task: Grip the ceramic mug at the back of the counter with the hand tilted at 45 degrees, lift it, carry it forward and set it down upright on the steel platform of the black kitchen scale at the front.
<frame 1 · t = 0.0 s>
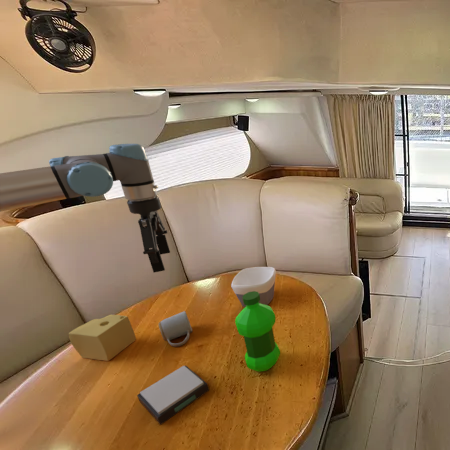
hand: (162, 261, 100), 27 cm above the table, tool pointing down, fingers open, 13 cm apart
scale: (175, 395, 85), on the table
plastic bottle: (264, 365, 95), on the table
cheese: (110, 349, 101), on the table
bowl: (258, 299, 127), on the table
ceramic mug: (180, 337, 107), on the table
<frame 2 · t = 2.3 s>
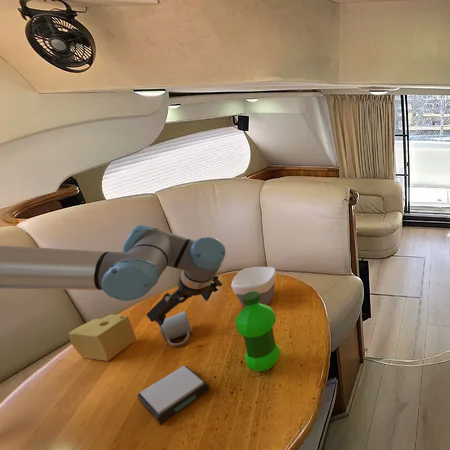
hand: (182, 308, 96), 15 cm above the table, tool tilted 45°, fingers open, 13 cm apart
nothing on the table moved.
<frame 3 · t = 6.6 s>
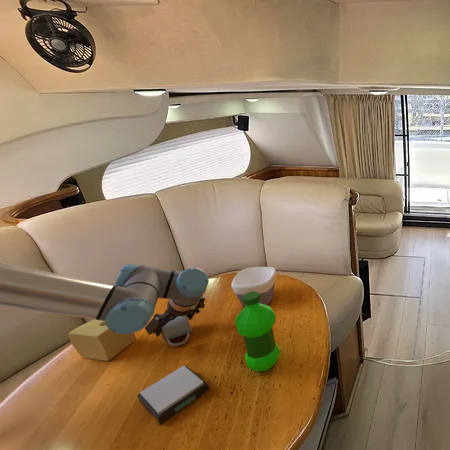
hand: (172, 324, 107), 4 cm above the table, tool tilted 45°, fingers closed on ceramic mug, 9 cm apart
ceramic mug: (180, 337, 107), on the table, touching gripper
everything else where it was.
when the fingers open (7 cm above the table, at t = 15.8 s): ceramic mug stays where it is, resting on scale.
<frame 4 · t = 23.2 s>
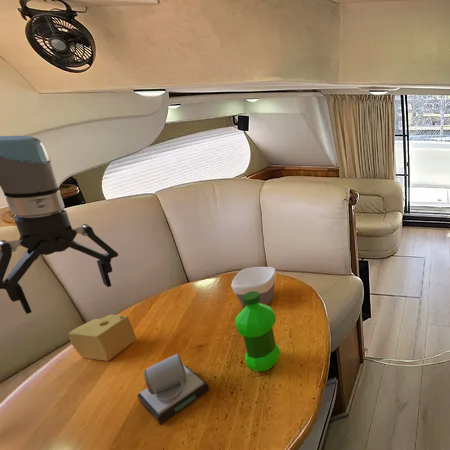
hand: (70, 296, 74), 32 cm above the table, tool pointing down, fingers open, 13 cm apart
ceramic mug: (171, 387, 84), point 3 cm above the table, touching scale
everything else where it was.
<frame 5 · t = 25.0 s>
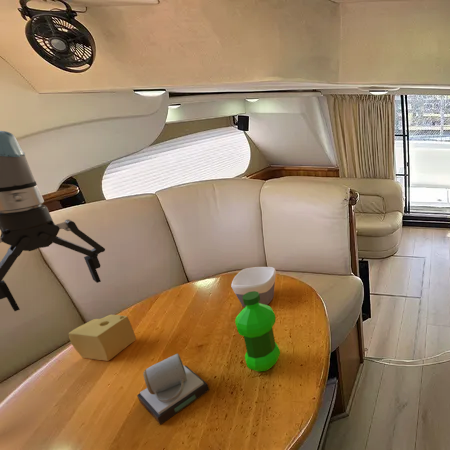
hand: (59, 293, 73), 33 cm above the table, tool pointing down, fingers open, 13 cm apart
nothing on the table moved.
at the end: ceramic mug inside the target area on the scale (0.1 cm from its centre), point 3.1 cm above the scale's base; ceramic mug tilted 0°; the gripper is holding nothing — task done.
